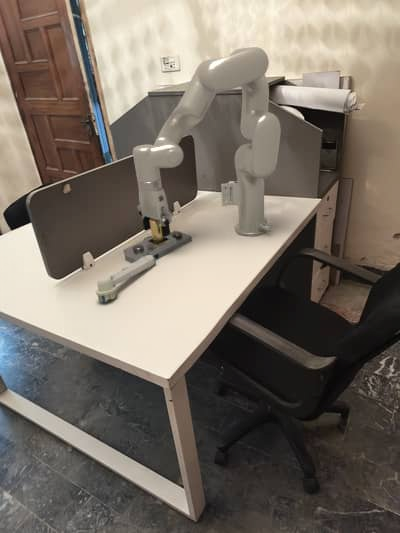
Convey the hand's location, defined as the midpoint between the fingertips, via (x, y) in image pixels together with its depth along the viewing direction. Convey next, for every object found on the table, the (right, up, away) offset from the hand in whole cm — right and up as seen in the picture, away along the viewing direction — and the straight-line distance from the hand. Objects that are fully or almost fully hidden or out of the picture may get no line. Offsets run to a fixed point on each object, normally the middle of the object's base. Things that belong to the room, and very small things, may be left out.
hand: (157, 232), depth 128 cm
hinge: (+32, +16, +37) cm, 51 cm away
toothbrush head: (-7, -17, -14) cm, 23 cm away
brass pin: (+1, -6, +3) cm, 7 cm away
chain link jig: (+1, -6, +3) cm, 7 cm away
